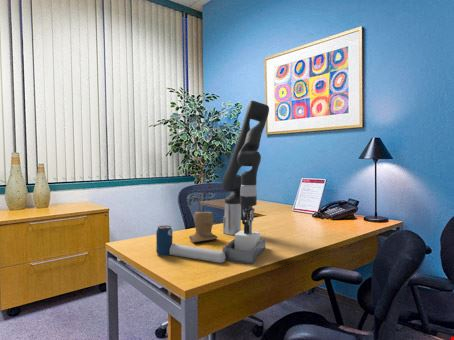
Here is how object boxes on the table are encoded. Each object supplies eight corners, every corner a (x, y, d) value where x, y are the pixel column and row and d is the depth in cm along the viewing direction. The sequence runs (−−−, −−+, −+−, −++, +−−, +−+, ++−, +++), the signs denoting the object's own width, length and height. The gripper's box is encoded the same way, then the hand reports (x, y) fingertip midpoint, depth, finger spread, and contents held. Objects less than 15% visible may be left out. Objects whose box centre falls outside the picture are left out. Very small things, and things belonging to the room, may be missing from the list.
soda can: (175, 253, 135) (175, 226, 135) (162, 257, 130) (162, 229, 130) (165, 250, 140) (166, 224, 140) (153, 253, 135) (153, 226, 134)
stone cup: (208, 235, 168) (208, 208, 167) (220, 240, 158) (220, 211, 158) (183, 239, 159) (183, 210, 158) (194, 245, 149) (195, 214, 149)
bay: (222, 260, 128) (222, 248, 128) (239, 244, 151) (239, 234, 151) (252, 264, 124) (252, 251, 124) (265, 247, 146) (265, 237, 146)
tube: (228, 251, 128) (176, 243, 137) (223, 250, 123) (170, 242, 133) (226, 264, 126) (174, 255, 136) (221, 264, 122) (168, 255, 131)
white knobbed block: (234, 250, 138) (234, 223, 138) (240, 244, 147) (240, 219, 146) (255, 252, 135) (255, 225, 134) (259, 247, 143) (260, 221, 143)
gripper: (244, 192, 148) (244, 228, 148) (235, 195, 134) (235, 234, 135) (260, 193, 145) (259, 229, 146) (252, 196, 132) (251, 236, 132)
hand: (247, 231), depth 140 cm, fingers closed on white knobbed block, 3 cm apart
